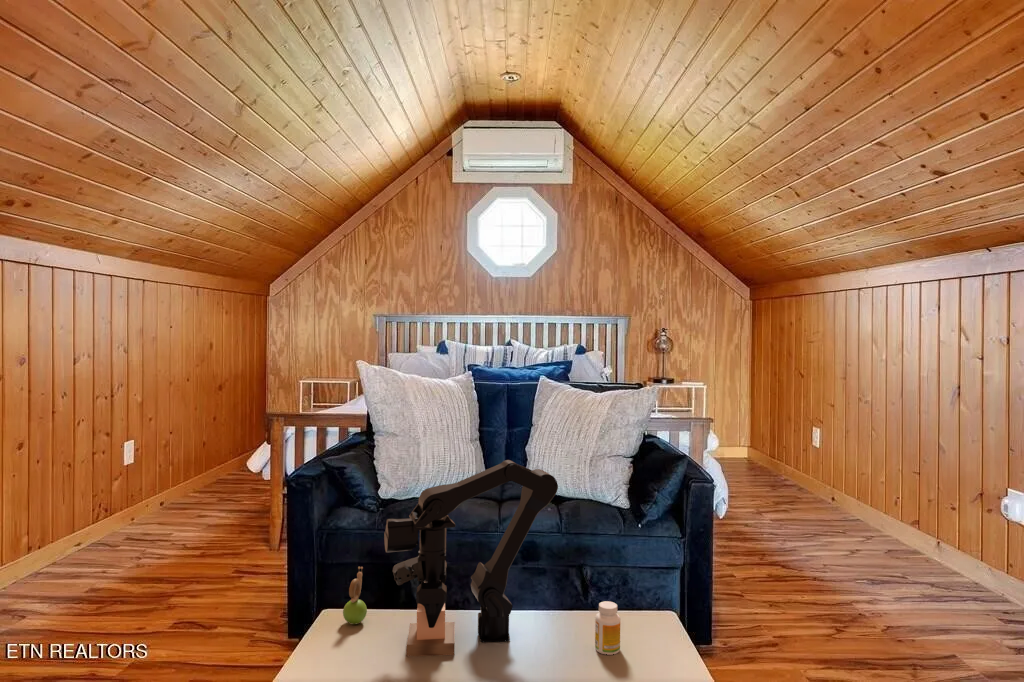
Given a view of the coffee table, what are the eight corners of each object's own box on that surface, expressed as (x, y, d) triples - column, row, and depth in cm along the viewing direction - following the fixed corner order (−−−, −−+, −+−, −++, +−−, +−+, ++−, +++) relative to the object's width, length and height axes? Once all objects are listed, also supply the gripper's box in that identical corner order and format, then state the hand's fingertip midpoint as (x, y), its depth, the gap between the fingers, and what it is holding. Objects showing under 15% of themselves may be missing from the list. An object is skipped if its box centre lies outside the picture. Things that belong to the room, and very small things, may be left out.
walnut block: (454, 635, 146) (454, 621, 146) (454, 657, 136) (454, 643, 136) (409, 636, 145) (410, 623, 145) (406, 658, 135) (406, 644, 135)
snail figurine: (371, 616, 154) (371, 566, 154) (362, 628, 147) (362, 576, 147) (349, 615, 154) (349, 565, 154) (339, 627, 148) (340, 575, 148)
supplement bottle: (624, 649, 139) (625, 604, 139) (610, 658, 136) (611, 612, 135) (604, 641, 143) (605, 597, 143) (589, 649, 139) (590, 604, 139)
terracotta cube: (445, 626, 144) (445, 599, 144) (445, 638, 138) (445, 610, 138) (418, 627, 143) (418, 600, 143) (416, 639, 137) (416, 611, 137)
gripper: (398, 535, 149) (398, 602, 149) (391, 563, 130) (390, 640, 130) (447, 534, 150) (446, 601, 150) (446, 562, 131) (446, 638, 132)
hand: (431, 618), depth 141 cm, fingers open, 8 cm apart
